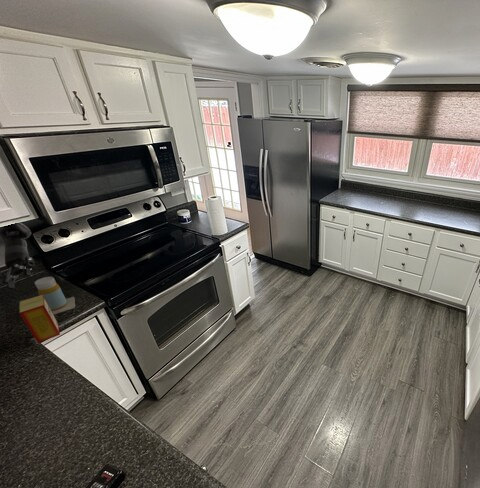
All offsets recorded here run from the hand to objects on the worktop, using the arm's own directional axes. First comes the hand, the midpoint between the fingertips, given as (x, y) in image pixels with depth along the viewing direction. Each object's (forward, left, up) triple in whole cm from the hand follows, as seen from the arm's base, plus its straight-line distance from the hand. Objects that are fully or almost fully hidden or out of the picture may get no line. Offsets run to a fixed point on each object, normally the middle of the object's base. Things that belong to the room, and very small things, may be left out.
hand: (19, 282), depth 119 cm
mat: (+9, -8, -14) cm, 18 cm away
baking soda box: (+6, -27, -14) cm, 31 cm away
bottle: (+9, -8, -14) cm, 18 cm away
